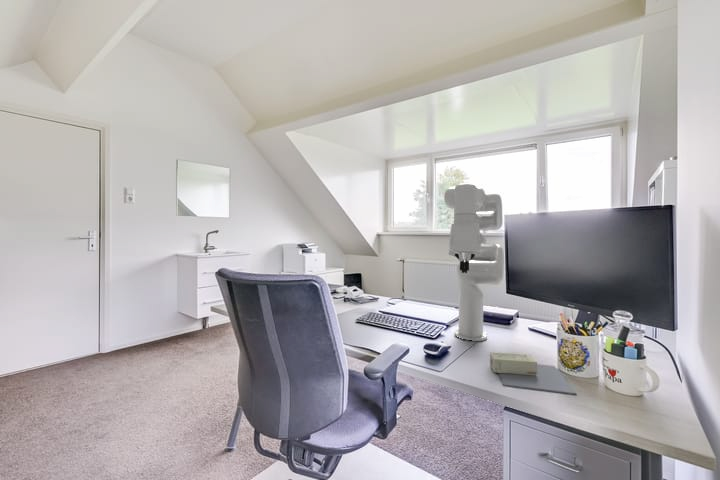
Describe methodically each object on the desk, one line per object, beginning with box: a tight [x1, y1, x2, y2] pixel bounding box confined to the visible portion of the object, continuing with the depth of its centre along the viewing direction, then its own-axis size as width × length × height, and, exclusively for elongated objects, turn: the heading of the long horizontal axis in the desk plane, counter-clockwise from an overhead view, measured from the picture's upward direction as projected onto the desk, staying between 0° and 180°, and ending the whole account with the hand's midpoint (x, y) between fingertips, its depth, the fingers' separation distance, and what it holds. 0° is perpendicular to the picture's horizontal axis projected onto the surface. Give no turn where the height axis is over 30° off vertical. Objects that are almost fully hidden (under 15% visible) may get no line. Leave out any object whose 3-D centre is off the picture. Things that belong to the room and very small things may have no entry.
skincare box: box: [489, 351, 538, 376], centre depth 99 cm, size 6×4×12 cm
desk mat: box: [498, 363, 577, 396], centre depth 96 cm, size 18×18×1 cm
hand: (464, 272), depth 111 cm, fingers closed
